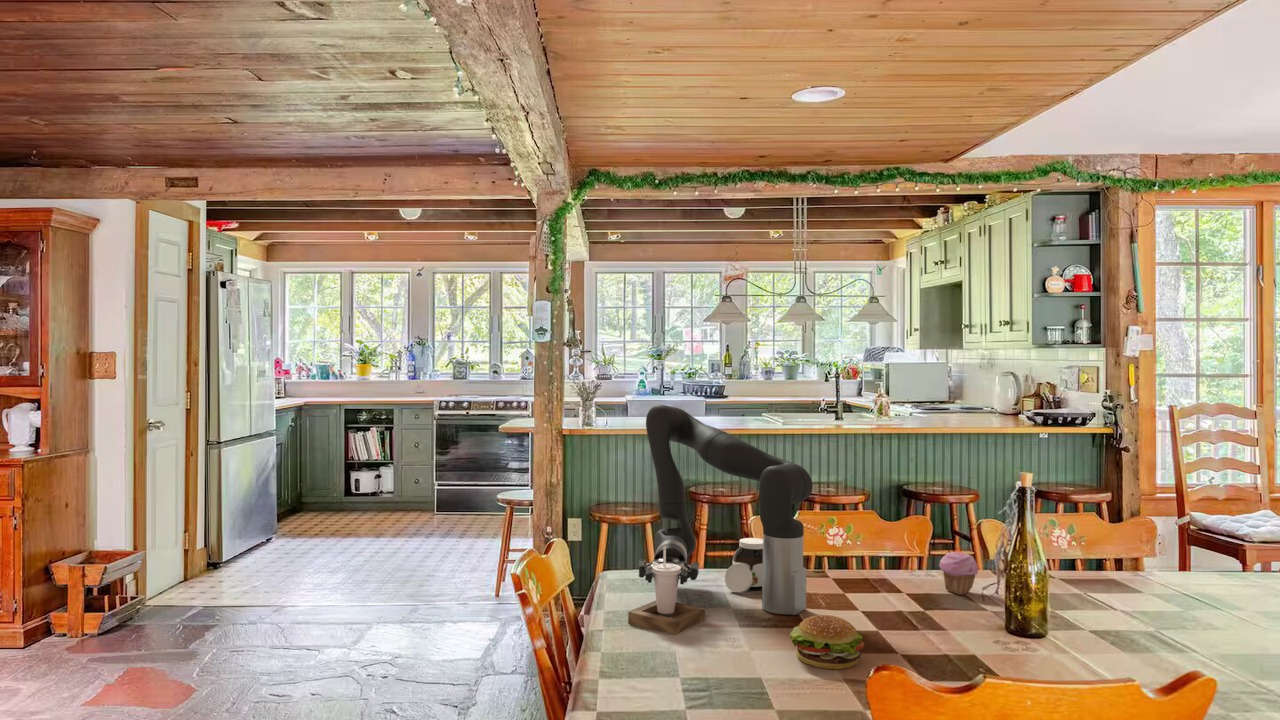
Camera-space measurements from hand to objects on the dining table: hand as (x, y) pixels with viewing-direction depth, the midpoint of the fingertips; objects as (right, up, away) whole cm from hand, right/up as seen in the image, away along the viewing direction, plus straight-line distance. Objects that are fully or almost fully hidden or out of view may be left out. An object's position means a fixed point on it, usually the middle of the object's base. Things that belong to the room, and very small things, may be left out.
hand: (665, 579), depth 173 cm
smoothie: (0, -8, +2) cm, 8 cm away
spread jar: (+22, -10, +29) cm, 37 cm away
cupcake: (+74, -11, +28) cm, 80 cm away
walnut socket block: (0, -10, +2) cm, 10 cm away
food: (+30, -11, -18) cm, 37 cm away
